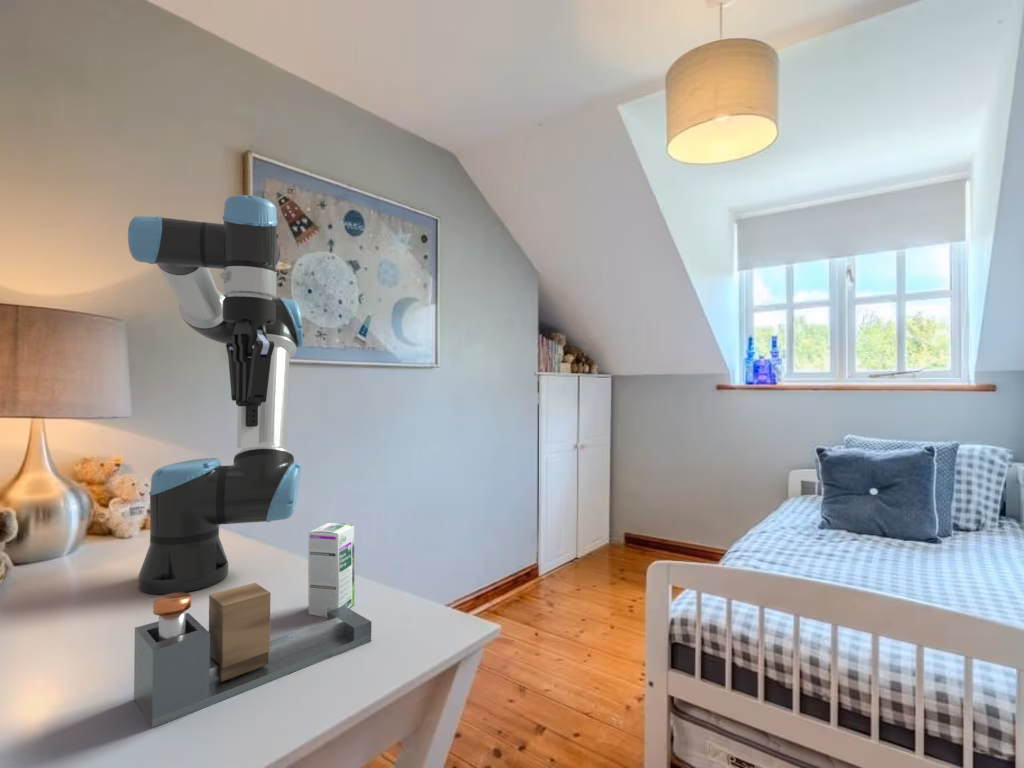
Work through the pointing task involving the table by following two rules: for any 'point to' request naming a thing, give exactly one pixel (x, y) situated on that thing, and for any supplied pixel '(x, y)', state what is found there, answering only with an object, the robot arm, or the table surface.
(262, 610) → the block
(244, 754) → the table surface
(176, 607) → the plunger
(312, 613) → the syrup box
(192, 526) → the robot arm
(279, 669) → the rail
